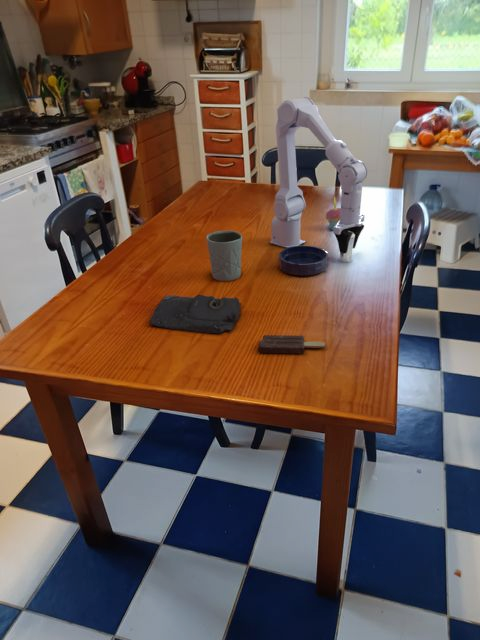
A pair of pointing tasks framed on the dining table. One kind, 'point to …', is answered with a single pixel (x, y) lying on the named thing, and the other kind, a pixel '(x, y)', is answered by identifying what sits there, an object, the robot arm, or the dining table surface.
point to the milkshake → (347, 256)
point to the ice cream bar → (286, 344)
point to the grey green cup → (225, 254)
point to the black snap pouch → (197, 313)
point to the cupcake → (333, 215)
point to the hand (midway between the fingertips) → (347, 250)
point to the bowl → (303, 260)
